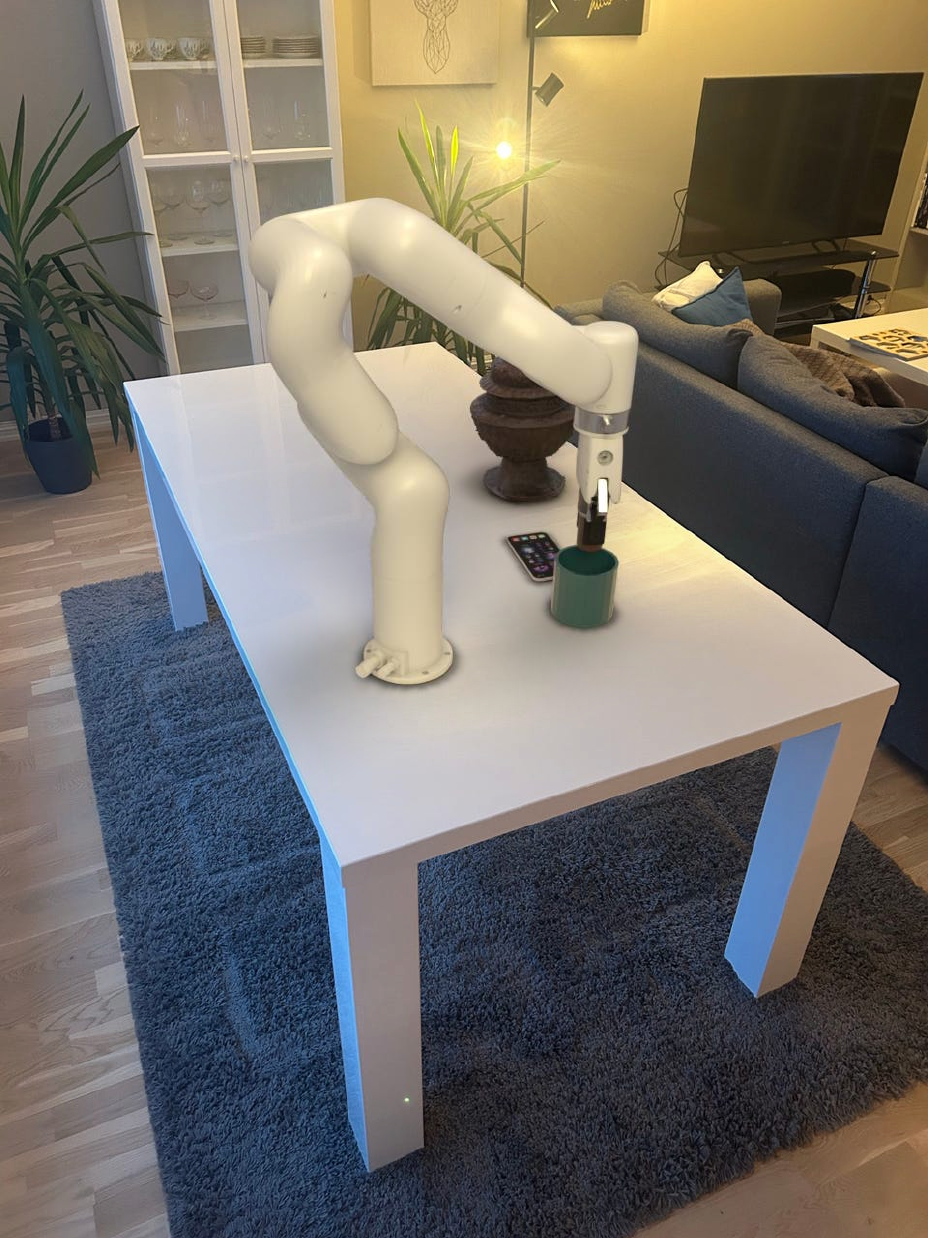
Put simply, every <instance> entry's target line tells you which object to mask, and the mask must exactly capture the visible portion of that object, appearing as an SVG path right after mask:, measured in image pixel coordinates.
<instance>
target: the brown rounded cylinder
mask: <svg viewBox="0 0 928 1238" xmlns="http://www.w3.org/2000/svg"><path fill="white" fill-rule="evenodd" d="M578 487H579V486H578ZM591 499H597V496H594V497H592V498H591ZM610 501H611V499H610V496H609V494H608V510H610V509H609V508H610ZM596 508H597V505H592V511H593V509H596ZM578 512H579V521H578V528H577V533H576V536H577V537H576V544H575V545H577V547H578V548H579V549H581V550H583V551H588V552H594V551H598V550H600V549H601V548H603V545H583V543H582V535H583V525H584V519H586V515H587V502H586V501H585V500H584V498H583V495H582V492H581V487H579V488H578V499H577V513H578Z"/></svg>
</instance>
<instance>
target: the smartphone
mask: <svg viewBox="0 0 928 1238" xmlns="http://www.w3.org/2000/svg"><path fill="white" fill-rule="evenodd" d="M506 542H507V544H508V545H509V547H510V548H511V550H512V551H513V553H514V554H515V556H516V557H517V559H518V560H519V562H520V564H521V565H522V566H523V568H524V569H525V571H526V573H527V574H528V575H529V576H530V578H531V580H532V581H535V582H546V581H553V572H554V560H555V556H556V553H557V552H559V551H560V550H561V548H560V547H559V545H557V543H556V542H555V540H553V538H552V537H551V535H550V534H549V533H548V532H546V531H535V532H534V531H533V532H529V533H528V532H527V533H521V534H513V535H509V536H507V537H506Z"/></svg>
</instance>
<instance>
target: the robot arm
mask: <svg viewBox="0 0 928 1238" xmlns="http://www.w3.org/2000/svg"><path fill="white" fill-rule="evenodd" d="M247 251H248V253H247V258H248V265H249V268H250V272H251V274H252V276H253V278H254V279H255V281H256V282H257V284H259V286H260V287H261V288H262V289H263V290H264V291H266V293H268V294H269V295H271V296H272V299H271V303H270V306H269V309H268V313H267V317H266V328H265V345H266V352H267V357H268V359H269V362H270V365H271V367H272V369H273V370H274V372H275V374H276V375H277V377H278V379H280V381H281V382H282V384H283V386H284V387H285V388H286V389H287V391H288V392H289V394H290V395H291V396H292V398H293V399H294V401H295V402H296V407H297V412H298V415H299V418H300V420H301V422H302V423H303V425H304V427H305V428H306V429H307V430H308V432H309V433H310V434H311V435H312V437H313V438H314V439H315V440H316V442H317V443H318V445H320V447H321V448H322V449H323V450H324V452H325V453H326V454H327V456H329V458H330V459H331V461H332V462H333V463H334V464H335V465H336V467H337V468H338V469H339V470H340V471H341V473H342V474H343V475H344V476H345V477H346V479H347V480H348V481H349V482H350V483H351V485H353V486H354V488H355V489H356V490H357V491H358V492H359V493H360V494H361V495H362V496H363V497H364V498H365V500H366V501H367V502H368V503H369V504H370V505H371V507H372V509H373V512H374V525H373V529H372V531H371V536H370V546H369V547H370V550H369V552H370V553H369V554H370V555H369V556H370V557H369V558H370V570H371V571H370V573H371V598H372V599H371V600H372V601H371V602H372V623H373V624H372V626H373V637H372V638H371V639H370V640H369V641H368V642H367V644H366V645H365V647H364V649H363V661H361V662H360V663H359V664H358V665H357V666H356V667H355V673H356V675H357V676H358V677H359V678H361V679H366V678H367V677H368V676H369V675H373V676H375V677H376V678H378V679H379V680H381V681H384V682H387V683H391V684H397V685H418V684H423V683H428V682H431V681H433V680H435V679H437V678H439V677H441V676H443V675H444V674H446V672H447V671H449V669H450V668H451V666H452V665H453V664H452V663H453V661H454V651H453V647H452V645H451V643H450V642H449V641H448V639H446V638H445V637H444V636H443V587H444V586H443V582H444V581H443V579H444V577H443V576H444V575H443V572H444V569H443V568H444V564H443V562H444V561H443V556H444V555H443V554H444V553H443V552H444V551H443V550H444V534H445V526H446V519H447V516H448V512H449V511H448V510H449V505H450V498H451V497H450V495H451V491H450V485H449V482H448V479H447V477H446V474H445V472H444V471H443V469H442V468H441V466H440V465H439V464H438V462H436V460H435V459H434V458H432V457H431V456H430V455H429V454H428V453H427V452H426V451H425V450H424V449H422V448H421V447H420V446H419V445H418V444H417V443H414V442H413V441H412V440H411V439H410V438H409V437H407V435H406V434H404V433H403V431H401V429H400V427H399V421H398V420H399V419H398V417H397V414H396V412H395V409H394V407H393V406H392V403H391V401H390V400H389V398H387V396H386V395H385V393H383V391H382V390H381V389H380V388H379V387H378V386H377V384H376V383H375V381H374V380H373V379H372V377H371V376H370V375H369V373H368V372H367V371H366V369H365V367H363V365H362V364H361V362H360V361H359V360H358V358H357V357H356V355H355V353H354V351H353V350H352V348H351V347H350V346H349V343H348V342H347V340H346V338H345V334H344V320H345V316H346V312H347V309H348V306H349V303H350V300H351V296H352V292H353V287H354V286H353V284H354V279H355V278H359V277H363V276H367V275H370V276H372V277H373V278H375V279H377V280H379V282H381V283H383V284H384V285H386V286H388V287H389V288H390V289H392V290H393V291H395V293H397V294H399V295H400V296H401V297H403V298H405V300H407V301H409V302H410V303H412V304H414V305H415V306H416V307H418V308H420V309H421V310H423V311H424V312H426V313H427V314H428V315H429V316H432V317H433V318H434V319H436V320H437V321H438V322H440V323H442V324H443V325H444V326H446V327H447V328H449V329H450V330H452V331H453V332H454V333H456V334H457V335H459V336H461V337H462V338H463V339H466V340H467V341H468V342H470V343H472V344H473V345H474V346H476V347H478V348H480V349H482V350H483V351H485V352H487V353H490V354H492V355H494V356H495V357H497V356H498V357H500V358H502V359H503V360H505V361H507V362H509V363H510V364H512V365H514V366H516V367H517V368H519V369H520V370H522V372H523V373H524V374H525V375H526V376H527V377H528V378H529V379H531V380H532V381H534V382H535V383H537V384H539V385H540V386H542V387H544V388H545V389H547V390H549V391H551V392H552V393H554V394H556V395H557V396H559V397H560V398H562V399H563V400H565V401H566V402H568V403H570V404H573V405H575V411H574V422H573V427H574V431H577V432H578V442H577V453H576V467H575V469H576V470H575V471H576V473H575V474H576V480H577V484H578V487H581V492H582V495H583V498H584V500H585V501H586V502H587V515H586V519H584V525H583V535H582V543H583V545H602V546H603V545H604V544H605V543H606V534H607V523H608V513H609V509H608V494H609V496H610V501H611V503H612V504H614V505H616V504H619V503H620V501H621V491H622V479H623V478H622V477H623V463H624V461H623V459H624V437H623V435H625V434H627V433H628V432H629V429H630V428H629V427H630V422H631V421H630V420H631V412H632V411H631V410H632V402H633V392H634V384H635V378H636V377H635V375H636V368H637V359H638V352H639V351H638V349H639V334H638V332H637V330H636V328H634V327H633V326H631V325H630V324H627V323H625V322H621V321H615V320H614V321H613V320H601V321H595V322H591V323H589V324H587V325H573V324H571V323H570V322H569V321H567V320H565V318H563V317H561V316H560V315H559V314H557V313H556V312H554V311H553V310H552V309H550V308H549V307H547V306H546V305H545V304H544V303H542V302H540V301H539V300H538V299H537V298H535V297H534V296H533V295H532V294H530V293H529V292H528V291H527V290H525V289H524V288H523V287H521V286H520V285H519V284H517V283H516V282H515V281H514V280H512V279H510V278H509V277H507V275H505V274H504V273H503V272H501V271H500V270H499V269H497V268H496V267H494V266H493V265H491V264H490V263H489V262H488V261H486V260H485V259H484V258H483V257H481V256H480V255H479V254H477V253H476V252H474V250H472V249H471V248H469V247H468V246H467V245H465V244H464V243H463V242H462V241H460V240H459V239H458V238H457V237H456V236H454V235H452V234H451V233H450V232H449V231H447V230H446V229H445V228H444V227H442V226H441V225H440V224H438V223H437V222H436V221H435V220H433V219H432V218H430V217H429V216H427V215H426V214H424V213H422V212H420V211H419V210H417V209H415V208H413V207H410V206H407V205H406V204H403V203H400V202H398V201H396V200H393V199H390V198H387V197H386V198H385V197H370V198H363V199H358V200H352V201H348V202H342V203H338V204H337V203H336V204H332V205H328V206H324V207H318V208H312V209H308V210H302V211H296V212H292V213H287V214H283V215H279V216H276V217H273V218H271V219H270V220H267V221H266V222H264V223H263V224H262V225H261V226H259V228H258V229H256V231H255V232H254V234H253V236H252V237H251V240H250V242H249V245H248V250H247ZM594 496H597V499H591V498H592V497H594ZM592 505H597V508H596V509H593V511H592ZM578 521H579V512H578V511H577V518H576V528H577V529H578Z"/></svg>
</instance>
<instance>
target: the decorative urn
mask: <svg viewBox="0 0 928 1238" xmlns="http://www.w3.org/2000/svg"><path fill="white" fill-rule="evenodd" d="M478 384H479V387H480V388H481V390H483V391H485V392H483V393H481V394H479V395H478V396H477V397H475V398H474V399H473V400H471V402H470V405H469V413H470V414H471V415H470V418H471V419H472V422H473V425H474V426H475V432H477V435H478V437H479V438H480V440H481V441H484V443H485V444H486V446H487V447H488V449H489V450H490V451H491V452H492V453H493V454H494V455H495V456H496V457H499V458H501V460H500V464H499V465H497V466H494V467H491V468H489V469H487V470H486V471H485V472H484V474H483V482H484V484H485V486H486V487H487V489H488V490H489V492H491V493H493V494H494V495H496V496H497V497H499V498H501V499H503V500H506V501H509V502H524V503H525V502H536V501H537V502H538V501H543V500H548V499H551V498H553V497H555V496H557V495H558V494H560V493H561V492H562V491H563V490H564V489H565V488H566V476H565V475H562V474H561V473H560V472H559V471H557V470H556V469H554V468H552V467H550V466H549V465H548V460H547V458H549V457H552V456H554V455H555V454H556V453H557V452H559V450H560V449H561V448H562V447H563V446H564V445H565V444H566V443H567V442H568V441H569V440H570V439H571V438H572V437H573V435H574V433H573V432H574V431H575V429H574V427H573V422H574V411H575V405H573V404H570V403H568V402H566V401H565V400H563V399H562V398H560V397H559V396H557V395H556V394H554V393H552V392H551V391H549V390H547V389H545V388H544V387H542V386H540V385H539V384H537V383H535V382H534V381H532V380H531V379H529V378H528V377H527V376H526V375H525V374H524V373H523V372H522V370H520V369H519V368H517V367H516V366H514V365H512V364H510V363H509V362H507V361H505V360H503V359H502V358H500V357H498V356H495V358H494V359H493V360H492V362H491V364H490V369H489V372H488V373H487V374H484V375H483V376H482V377H481V378H480V379H479V382H478Z"/></svg>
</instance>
